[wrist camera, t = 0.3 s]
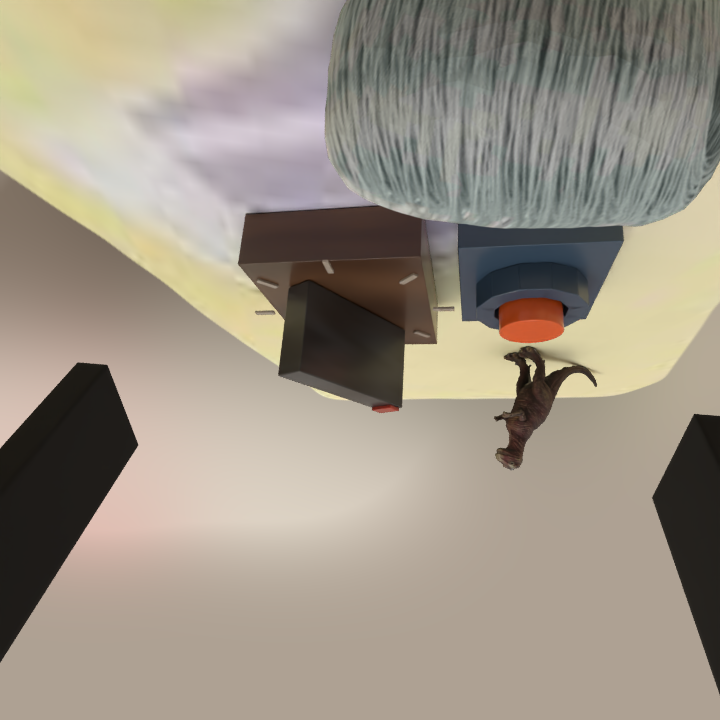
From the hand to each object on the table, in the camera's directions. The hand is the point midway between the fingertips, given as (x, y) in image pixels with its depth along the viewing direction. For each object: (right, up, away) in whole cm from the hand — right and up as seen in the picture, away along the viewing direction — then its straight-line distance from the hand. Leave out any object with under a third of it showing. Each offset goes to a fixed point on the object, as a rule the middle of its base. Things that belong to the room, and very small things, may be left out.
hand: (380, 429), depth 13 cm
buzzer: (+11, +8, +24) cm, 27 cm away
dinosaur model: (+19, +2, +42) cm, 46 cm away
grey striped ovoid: (+5, +14, +8) cm, 17 cm away
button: (+11, +5, +23) cm, 25 cm away
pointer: (-1, +5, +25) cm, 26 cm away
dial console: (-1, +8, +26) cm, 27 cm away
